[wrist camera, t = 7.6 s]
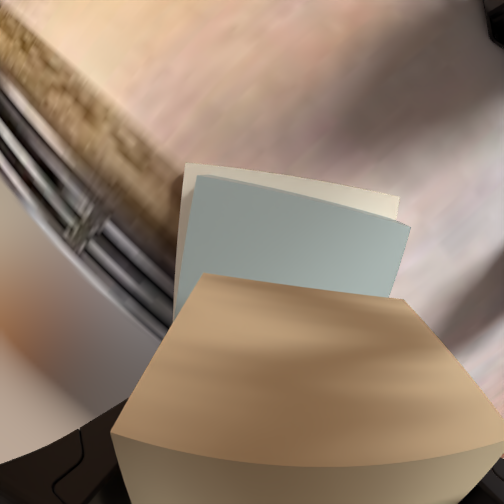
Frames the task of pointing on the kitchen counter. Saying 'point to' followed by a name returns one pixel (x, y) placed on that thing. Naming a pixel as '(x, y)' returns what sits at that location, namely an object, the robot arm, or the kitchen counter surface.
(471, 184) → the kitchen counter surface
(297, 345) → the maple cube
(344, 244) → the top block
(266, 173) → the bottom block
